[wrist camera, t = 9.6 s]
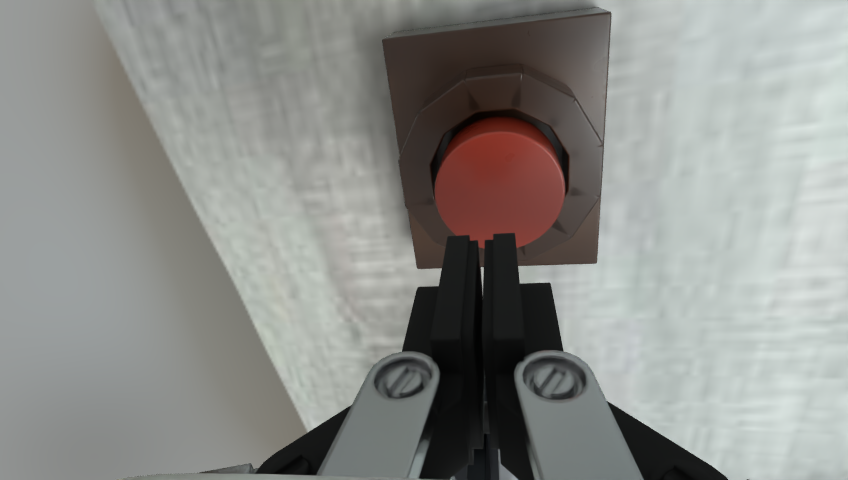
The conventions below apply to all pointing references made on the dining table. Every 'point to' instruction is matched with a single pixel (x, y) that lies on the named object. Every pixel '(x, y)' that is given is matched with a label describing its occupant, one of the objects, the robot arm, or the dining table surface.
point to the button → (500, 181)
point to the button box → (504, 96)
